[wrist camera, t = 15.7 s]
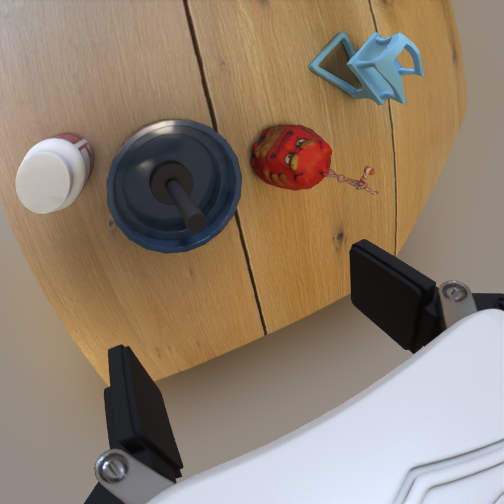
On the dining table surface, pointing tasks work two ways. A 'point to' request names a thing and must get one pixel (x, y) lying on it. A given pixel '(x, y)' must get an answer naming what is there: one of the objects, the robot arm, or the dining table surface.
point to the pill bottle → (54, 173)
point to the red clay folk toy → (296, 159)
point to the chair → (373, 66)
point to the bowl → (203, 194)
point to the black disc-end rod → (177, 192)
